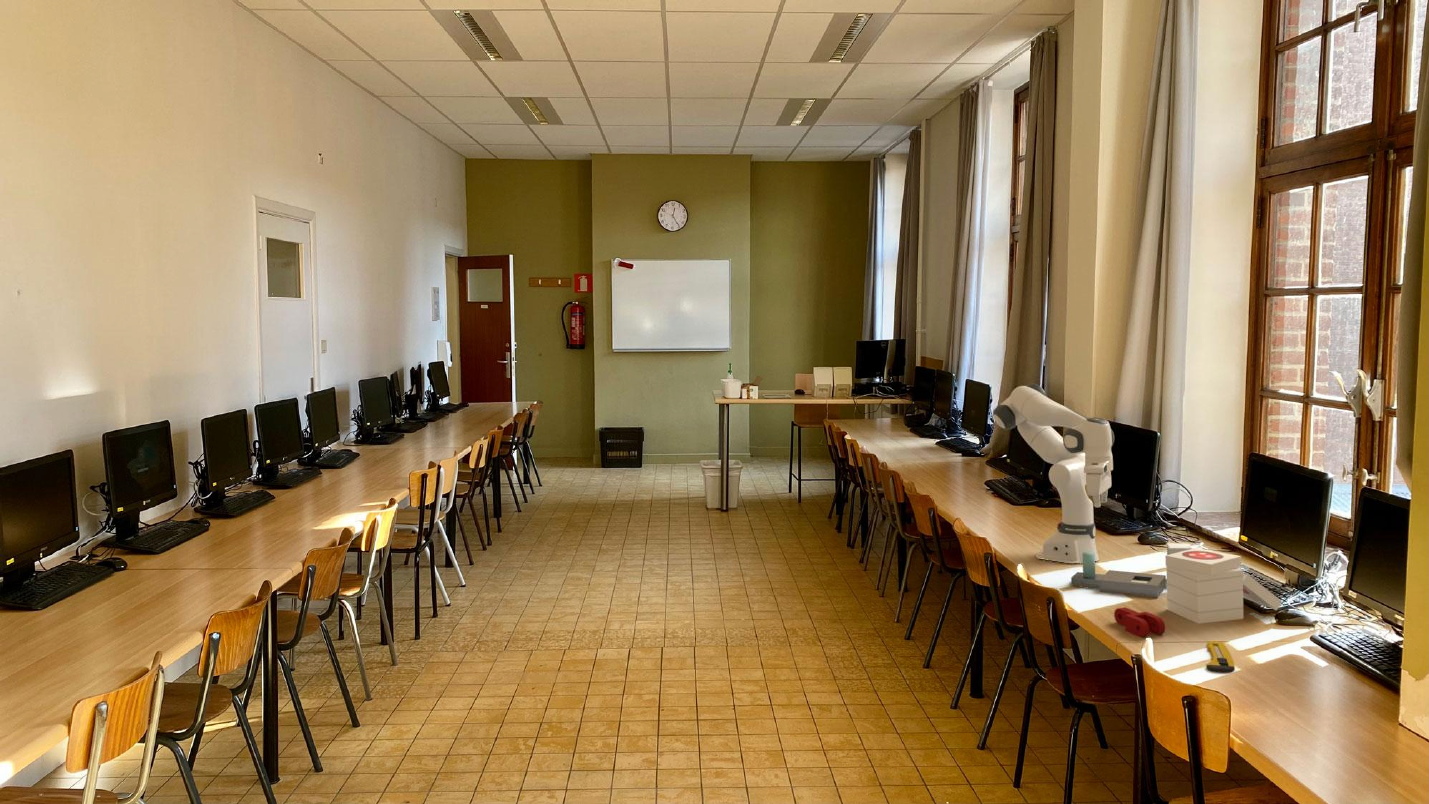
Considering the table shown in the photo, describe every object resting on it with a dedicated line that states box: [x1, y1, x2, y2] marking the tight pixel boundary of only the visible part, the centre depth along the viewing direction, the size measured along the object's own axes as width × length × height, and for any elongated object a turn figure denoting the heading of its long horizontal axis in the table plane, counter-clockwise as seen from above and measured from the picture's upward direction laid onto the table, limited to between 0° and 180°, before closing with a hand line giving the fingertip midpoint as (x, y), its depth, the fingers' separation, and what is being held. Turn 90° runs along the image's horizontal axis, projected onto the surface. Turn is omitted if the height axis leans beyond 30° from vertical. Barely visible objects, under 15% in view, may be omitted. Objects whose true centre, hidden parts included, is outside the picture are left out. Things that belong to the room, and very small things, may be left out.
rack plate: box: [1070, 569, 1167, 599], centre depth 322 cm, size 28×14×4 cm, turn 55°
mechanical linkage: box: [1113, 607, 1166, 638], centre depth 279 cm, size 16×7×5 cm, turn 15°
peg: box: [1082, 552, 1096, 578], centre depth 327 cm, size 4×4×8 cm
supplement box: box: [1166, 542, 1194, 555], centre depth 325 cm, size 7×7×13 cm
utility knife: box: [1205, 640, 1236, 674], centre depth 253 cm, size 7×22×2 cm, turn 159°
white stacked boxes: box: [1165, 547, 1283, 625], centre depth 290 cm, size 19×30×18 cm, turn 98°
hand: (1100, 504), depth 327 cm, fingers open, 8 cm apart
